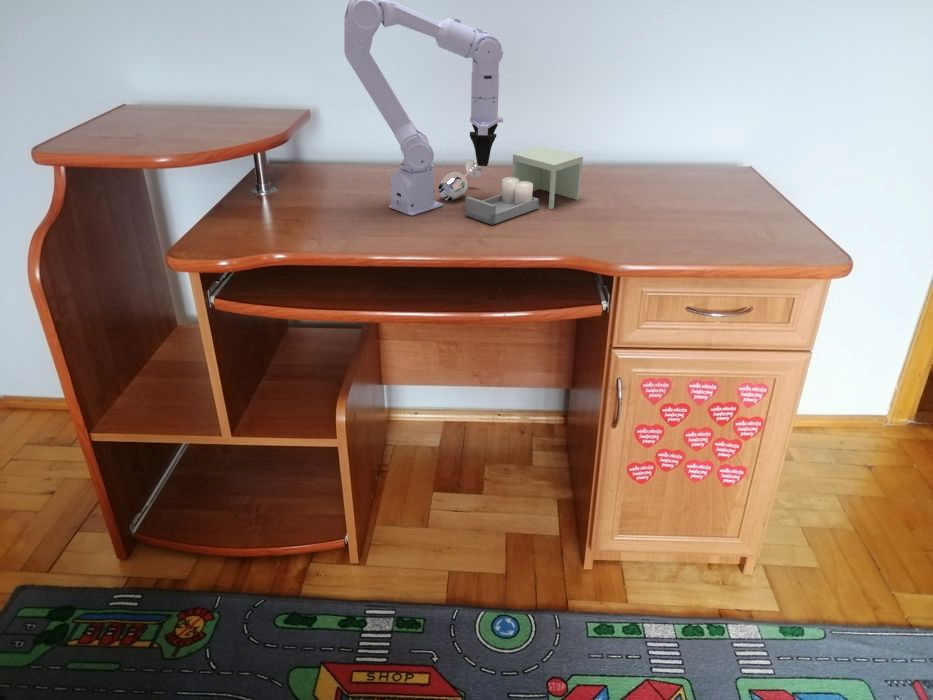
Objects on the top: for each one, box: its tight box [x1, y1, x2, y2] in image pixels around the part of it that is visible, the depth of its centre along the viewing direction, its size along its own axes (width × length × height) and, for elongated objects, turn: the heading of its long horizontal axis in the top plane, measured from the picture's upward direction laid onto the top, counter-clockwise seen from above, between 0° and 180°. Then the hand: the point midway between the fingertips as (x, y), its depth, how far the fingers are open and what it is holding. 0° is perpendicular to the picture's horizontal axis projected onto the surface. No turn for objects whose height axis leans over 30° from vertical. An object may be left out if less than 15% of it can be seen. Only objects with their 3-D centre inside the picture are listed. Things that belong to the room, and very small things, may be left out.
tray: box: [464, 176, 540, 226], centre depth 152 cm, size 15×8×6 cm, turn 134°
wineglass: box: [437, 159, 483, 202], centre depth 163 cm, size 6×6×12 cm
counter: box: [511, 145, 584, 210], centre depth 160 cm, size 10×12×10 cm
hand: (483, 160), depth 155 cm, fingers open, 7 cm apart
